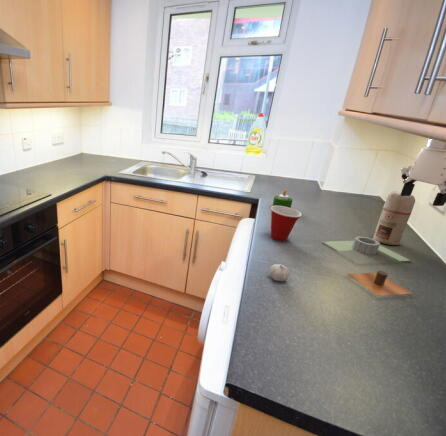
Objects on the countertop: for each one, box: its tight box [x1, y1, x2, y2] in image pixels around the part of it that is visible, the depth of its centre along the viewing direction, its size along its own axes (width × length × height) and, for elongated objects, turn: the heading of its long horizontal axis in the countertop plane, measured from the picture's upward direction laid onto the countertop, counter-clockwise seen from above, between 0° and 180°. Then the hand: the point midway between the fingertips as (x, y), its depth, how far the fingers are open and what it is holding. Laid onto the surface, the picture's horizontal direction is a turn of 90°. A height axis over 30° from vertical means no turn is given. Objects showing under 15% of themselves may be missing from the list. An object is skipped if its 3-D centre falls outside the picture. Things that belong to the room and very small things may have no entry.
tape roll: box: [352, 236, 381, 255], centre depth 107 cm, size 7×7×4 cm
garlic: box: [269, 263, 291, 282], centre depth 89 cm, size 6×5×5 cm
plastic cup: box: [270, 205, 303, 242], centre depth 115 cm, size 11×11×12 cm
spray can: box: [371, 190, 416, 246], centre depth 113 cm, size 8×8×20 cm
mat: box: [322, 240, 411, 263], centre depth 108 cm, size 20×16×1 cm
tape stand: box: [346, 270, 414, 297], centre depth 87 cm, size 11×11×4 cm
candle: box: [271, 189, 294, 208], centre depth 148 cm, size 8×8×10 cm
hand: (420, 200), depth 93 cm, fingers open, 9 cm apart
